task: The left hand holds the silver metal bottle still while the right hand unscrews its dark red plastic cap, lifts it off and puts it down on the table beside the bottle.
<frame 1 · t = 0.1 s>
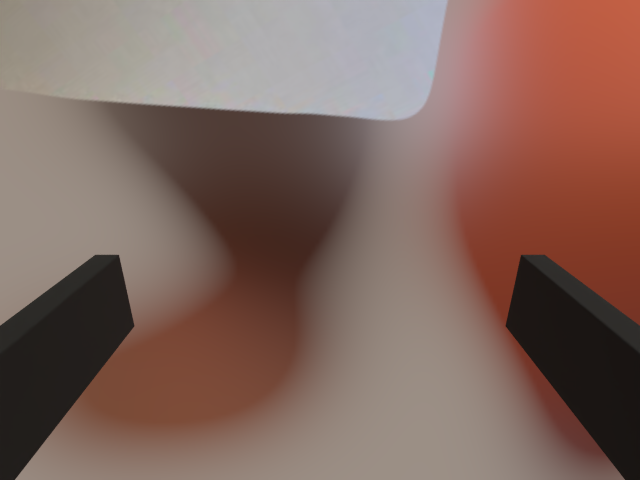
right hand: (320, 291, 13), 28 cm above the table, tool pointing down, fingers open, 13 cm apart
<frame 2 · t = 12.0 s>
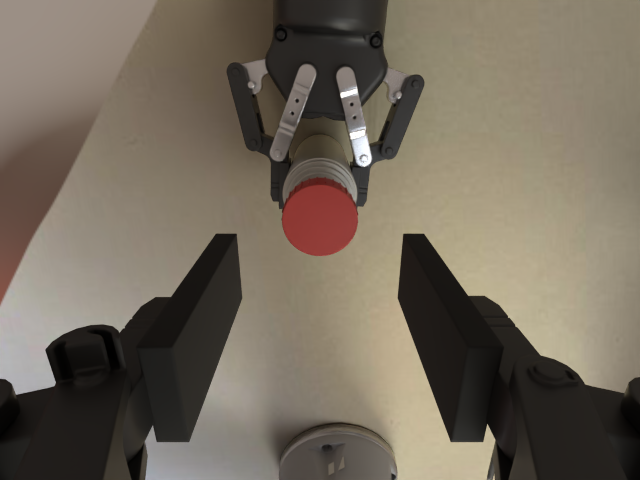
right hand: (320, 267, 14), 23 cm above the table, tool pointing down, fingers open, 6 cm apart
left hand: (317, 207, 30), fingers closed on bottle, 4 cm apart
cap: (319, 219, 19), point 17 cm above the table, screwed on, not yet turned
bottle: (319, 160, 35), on the table, touching left hand
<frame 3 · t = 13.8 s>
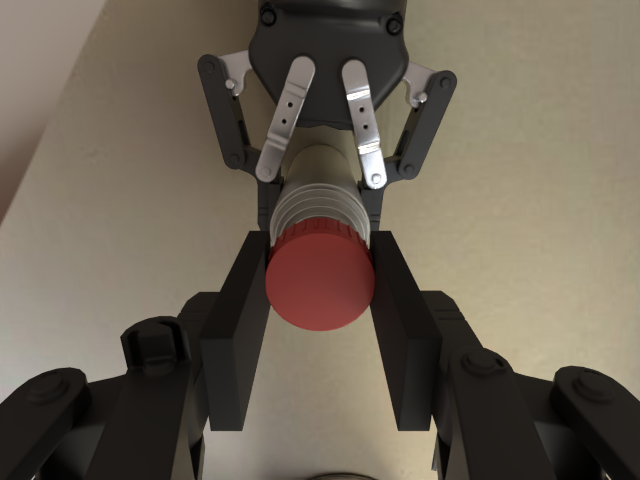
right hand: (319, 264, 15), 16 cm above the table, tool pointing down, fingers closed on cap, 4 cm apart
left hand: (316, 237, 24), fingers closed on bottle, 4 cm apart
cap: (320, 280, 13), point 17 cm above the table, screwed on, not yet turned, touching right hand
bottle: (320, 175, 29), on the table, touching left hand
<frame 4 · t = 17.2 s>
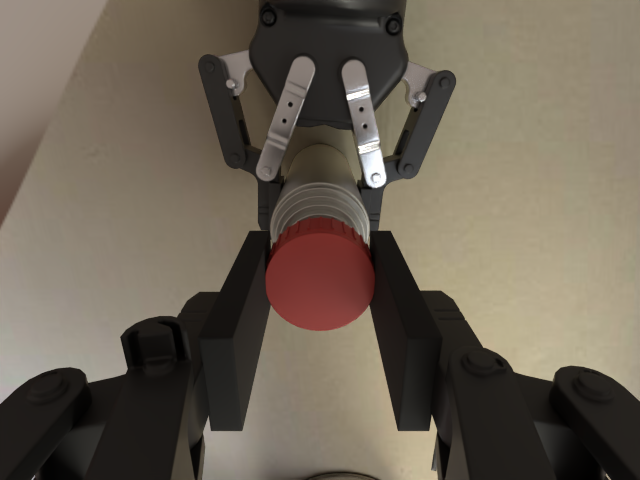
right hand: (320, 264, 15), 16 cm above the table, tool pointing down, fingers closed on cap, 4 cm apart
left hand: (317, 236, 24), fingers closed on bottle, 4 cm apart
cap: (320, 280, 13), point 17 cm above the table, turned 131° so far, risen 0.1 cm, still on its thread, touching right hand
bottle: (320, 175, 29), on the table, touching left hand
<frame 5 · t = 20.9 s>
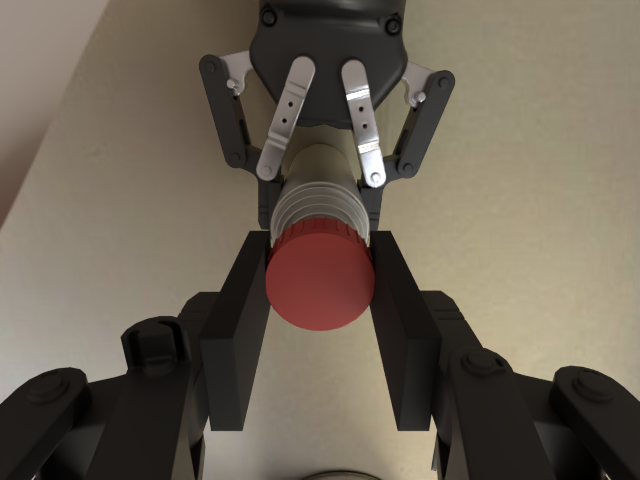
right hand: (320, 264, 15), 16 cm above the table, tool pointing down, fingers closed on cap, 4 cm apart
left hand: (317, 235, 25), fingers closed on bottle, 4 cm apart
cap: (320, 280, 13), point 17 cm above the table, turned 263° so far, risen 0.3 cm, still on its thread, touching right hand
bottle: (320, 174, 29), on the table, touching left hand
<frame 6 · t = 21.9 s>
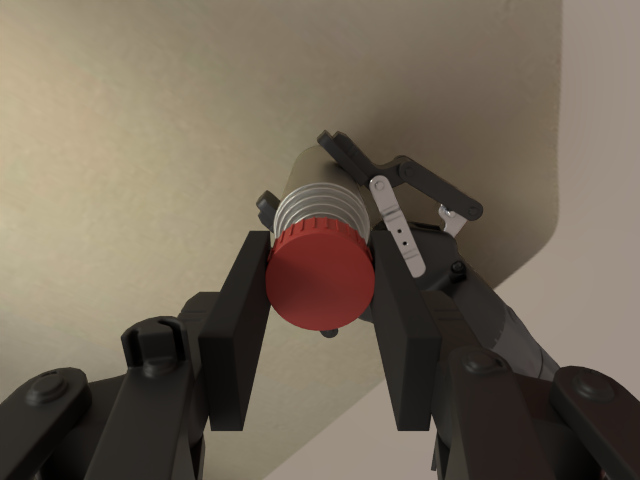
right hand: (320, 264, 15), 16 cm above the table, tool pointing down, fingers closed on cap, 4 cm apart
cap: (320, 280, 13), point 18 cm above the table, off its thread, touching right hand
bottle: (321, 176, 30), on the table, touching left hand
when the right hand's fingers open (1 cm above the table, at t = 28.4 s): cap stays where it is, point 1 cm above the table.
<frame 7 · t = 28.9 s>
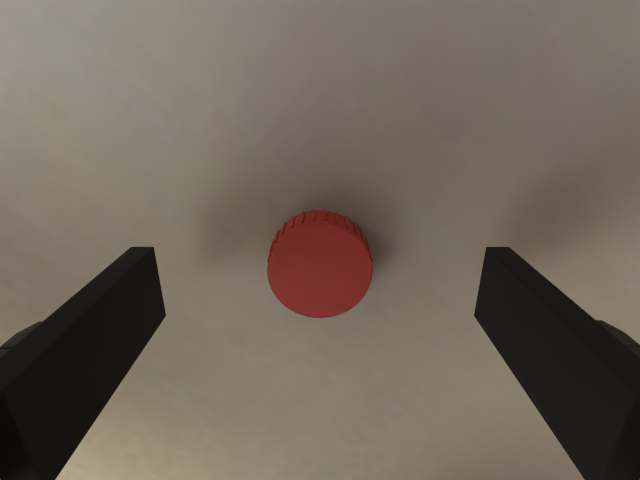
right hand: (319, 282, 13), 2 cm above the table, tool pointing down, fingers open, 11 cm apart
cap: (319, 269, 14), point 1 cm above the table, off its thread
when the left hand's fingers open (6 cm above the table, at t = 29.7 s): bottle stays where it is, on the table.
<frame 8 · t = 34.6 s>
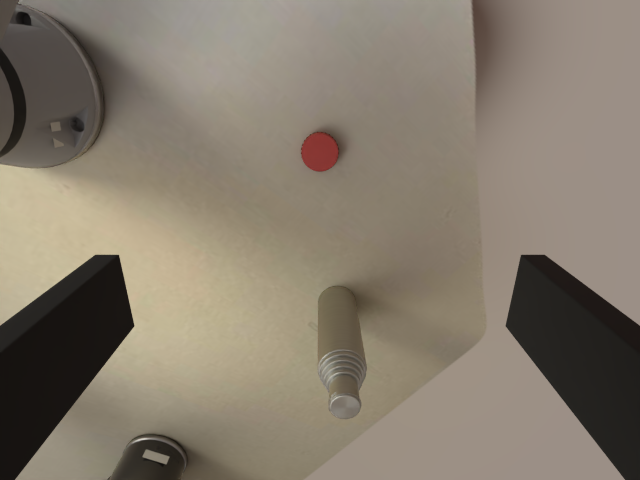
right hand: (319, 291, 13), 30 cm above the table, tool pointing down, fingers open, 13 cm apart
cap: (319, 152, 40), point 1 cm above the table, off its thread
bottle: (336, 302, 48), on the table
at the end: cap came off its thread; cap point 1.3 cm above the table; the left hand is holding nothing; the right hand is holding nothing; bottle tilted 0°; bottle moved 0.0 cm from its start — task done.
